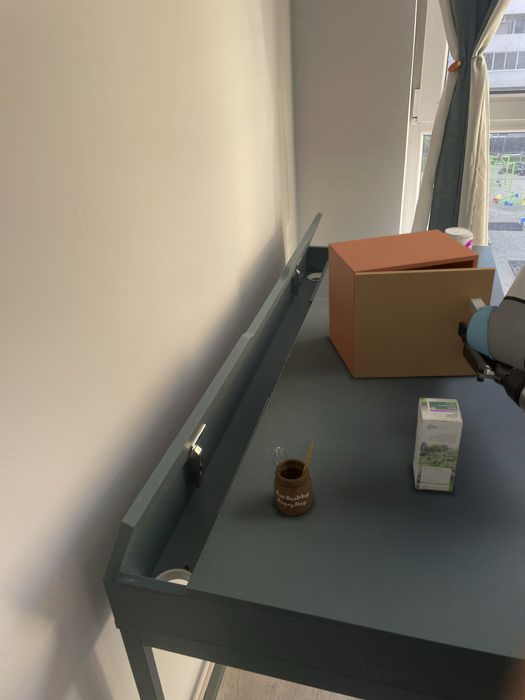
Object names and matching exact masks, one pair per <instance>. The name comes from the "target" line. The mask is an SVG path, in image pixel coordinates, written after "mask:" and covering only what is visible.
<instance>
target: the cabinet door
mask: <svg viewBox="0 0 525 700" xmlns="http://www.w3.org/2000/svg"><path fill="white" fill-rule="evenodd" d="M495 274H496V268H495V266H494V267H492V266H491V267H490V266H489V267H477V268H463V269H438V270H413V271H388V272H363V273H355V315H354V375H353V378H354V379H356V378H357V379H359V378H361V379H362V378H399V377H401V378H406V377H409V378H411V377H452V376H454V377H455V376H456V377H457V376H477V375H476V373H475V372H474V370H473V369H472V367H471V366H470V365H469V363H468V362H467V360H466V359H465V357H464V356H463V347H464V343H463V342H462V338H461V337H460V336H459V335H458V329H459V322H464V323H465V324H466V325H467V326H468V325H469V322H470V320H471V318H472V316H473V315H474V314H475V313H476V312H478V310H479V309H480V308H481V307H483V306H485V305H491V301H492V295H493V289H494V281H495V277H496V276H495Z"/></svg>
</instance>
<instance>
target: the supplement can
mask: <svg viewBox="0 0 525 700" xmlns="http://www.w3.org/2000/svg"><path fill="white" fill-rule="evenodd" d="M443 233H444V234H446V235H448V236H449V237H451V238H453V239H454V240H456V241H457V242H459V243H461V244H462V245H464V246H466V247H467V248H469V249H470V250H472V251H473V242H474V235H473V231H472V230H471V229H470V228H466V227H459V226H457V227H454V226H453V227H448V228H446V229H445V230H444V232H443Z"/></svg>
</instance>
